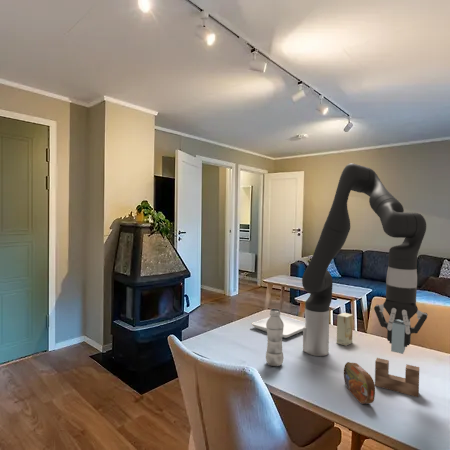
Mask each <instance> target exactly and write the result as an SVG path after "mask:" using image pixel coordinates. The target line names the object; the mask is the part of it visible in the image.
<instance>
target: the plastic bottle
mask: <svg viewBox="0 0 450 450" xmlns="http://www.w3.org/2000/svg"><path fill="white" fill-rule="evenodd" d="M280 315H281V310H280V309H279V308H270V310H269V317H270V318H269V319H268V321H267V323H266V328H267V332H266V337H267V344H266V351H265V362H266V363H267V364H268V365H269V366H271V367H280V366H281V365H282V364H284V352H283V337H282V335H283V328H284V324H283V321H282V320H281V318H280Z"/></svg>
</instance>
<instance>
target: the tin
mask: <svg viewBox="0 0 450 450" xmlns="http://www.w3.org/2000/svg"><path fill="white" fill-rule="evenodd" d="M343 380H344V383H345V387H346V388H347V390H348V391H349V392H350V393H351V394H352V396H353V397H355V399H356V400H357V401H358V402H359V403H360V404H363V405H364V404H372V403H374V401H375V397H376V386H375V380H374V379H373V377H372V376H371V374H370V373H368V371H366V370H365V369H364V368H363V367H362V366H361V365H360V364H358V363H356V362H350V361H349V362H348V361H347V362H346V363H345V364H344V367H343Z"/></svg>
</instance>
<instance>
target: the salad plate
mask: <svg viewBox="0 0 450 450" xmlns="http://www.w3.org/2000/svg"><path fill="white" fill-rule="evenodd" d="M269 318H270V316H269V317H265V318H262V319H260V320H256V321H254V322H251V325H252V327H254V328H256V329H257V330H260V331H263V332H266V333H267V328H266V323H267V321H268V319H269ZM280 318H281V320H282V321H283V324H284V328H283V335H282V339H283V338H284V339H287V338H290V337H292V336H294V335H296V334H299V333H301V332H302V333H303V328H304V327H305V321H303V320H299V319H296V318H292V317H290V316H286V315H282V314H280Z"/></svg>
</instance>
